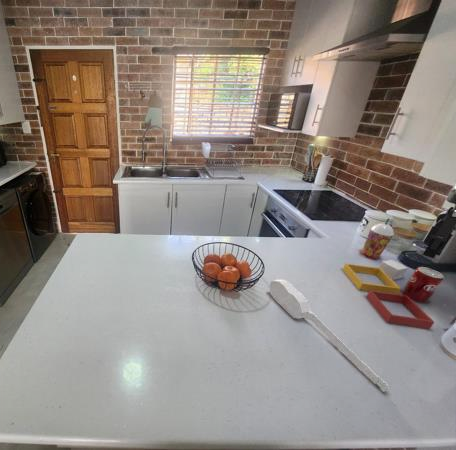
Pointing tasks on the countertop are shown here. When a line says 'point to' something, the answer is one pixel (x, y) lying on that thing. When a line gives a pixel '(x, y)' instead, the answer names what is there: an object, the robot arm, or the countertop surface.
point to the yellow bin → (389, 288)
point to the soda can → (422, 284)
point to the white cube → (393, 269)
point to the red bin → (420, 320)
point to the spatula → (316, 323)
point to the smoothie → (377, 240)
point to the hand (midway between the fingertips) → (432, 250)
